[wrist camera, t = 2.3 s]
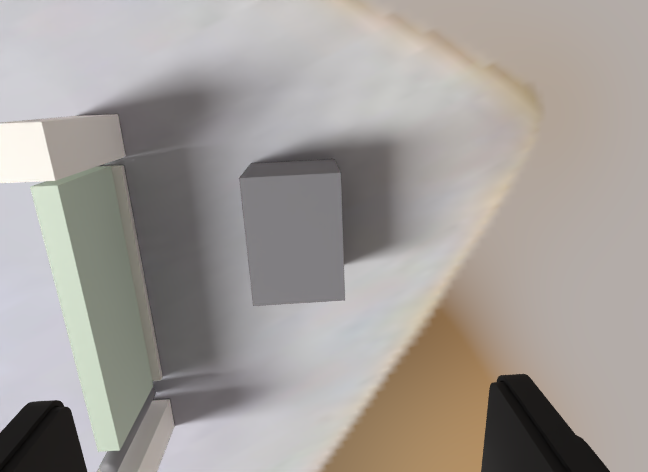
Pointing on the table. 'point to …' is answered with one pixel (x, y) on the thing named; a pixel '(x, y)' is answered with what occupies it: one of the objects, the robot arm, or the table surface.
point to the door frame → (92, 151)
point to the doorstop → (294, 231)
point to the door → (98, 304)
